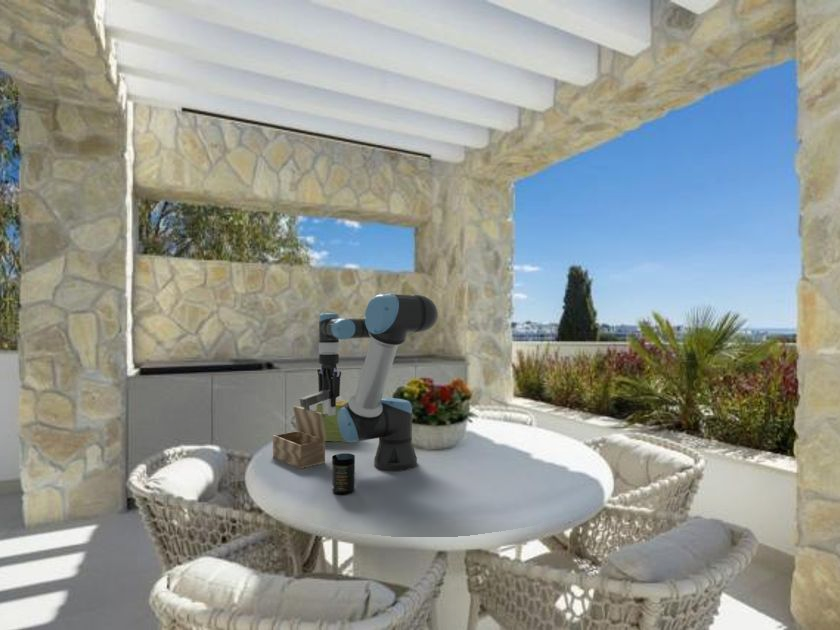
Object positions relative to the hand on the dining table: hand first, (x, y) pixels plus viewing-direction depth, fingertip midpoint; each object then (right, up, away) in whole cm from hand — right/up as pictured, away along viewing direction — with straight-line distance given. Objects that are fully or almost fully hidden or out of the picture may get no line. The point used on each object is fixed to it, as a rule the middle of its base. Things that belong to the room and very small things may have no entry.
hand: (329, 414), depth 182 cm
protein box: (-1, -15, +21) cm, 26 cm away
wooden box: (-9, -15, -9) cm, 20 cm away
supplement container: (+12, -15, -41) cm, 45 cm away
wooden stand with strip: (-8, 0, -7) cm, 10 cm away
